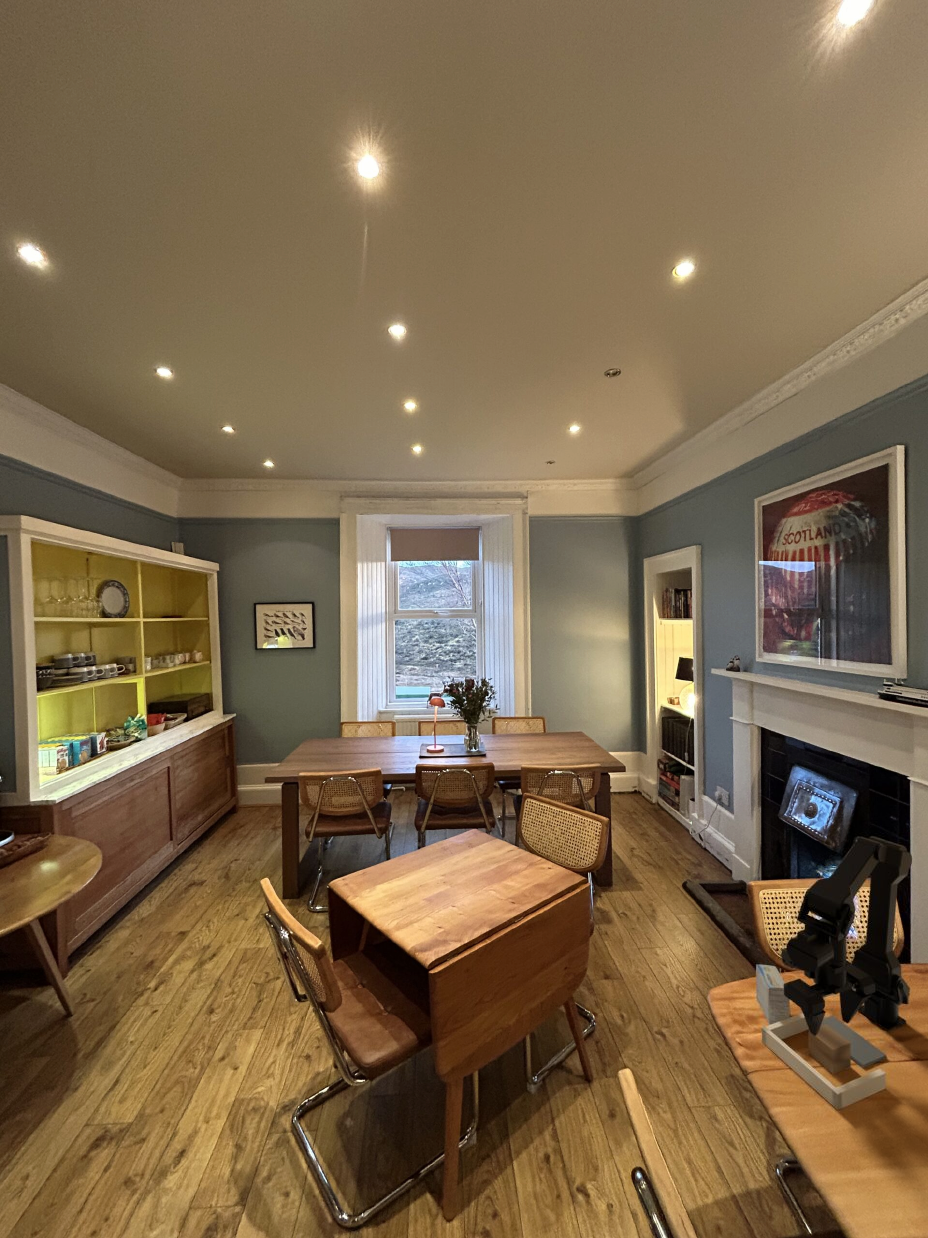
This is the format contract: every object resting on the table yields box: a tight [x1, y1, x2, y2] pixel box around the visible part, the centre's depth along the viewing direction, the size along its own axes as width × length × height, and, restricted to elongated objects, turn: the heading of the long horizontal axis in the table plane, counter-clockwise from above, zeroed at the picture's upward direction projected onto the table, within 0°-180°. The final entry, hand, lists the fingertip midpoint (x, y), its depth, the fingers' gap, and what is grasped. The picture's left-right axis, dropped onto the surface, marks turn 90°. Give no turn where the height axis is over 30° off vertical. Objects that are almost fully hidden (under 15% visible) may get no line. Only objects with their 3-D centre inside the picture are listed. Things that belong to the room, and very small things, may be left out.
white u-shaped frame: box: [761, 1012, 887, 1111], centre depth 104 cm, size 13×16×3 cm
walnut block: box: [808, 1024, 852, 1075], centre depth 104 cm, size 5×5×5 cm
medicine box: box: [755, 964, 791, 1025], centre depth 117 cm, size 8×4×9 cm, turn 168°
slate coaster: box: [821, 1014, 887, 1069], centre depth 109 cm, size 7×11×1 cm, turn 19°
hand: (829, 1028), depth 105 cm, fingers open, 9 cm apart
